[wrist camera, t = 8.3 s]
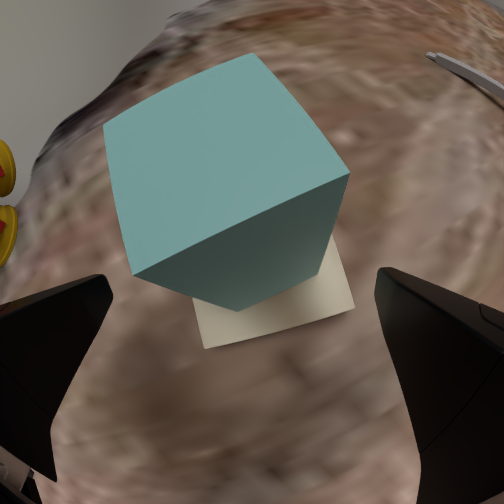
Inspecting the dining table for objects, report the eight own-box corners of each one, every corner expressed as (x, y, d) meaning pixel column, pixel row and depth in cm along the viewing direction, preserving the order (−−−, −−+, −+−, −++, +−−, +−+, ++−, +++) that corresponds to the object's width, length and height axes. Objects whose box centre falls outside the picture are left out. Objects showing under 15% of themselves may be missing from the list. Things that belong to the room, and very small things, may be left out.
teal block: (237, 312, 16) (132, 275, 6) (206, 236, 18) (102, 125, 7) (317, 274, 16) (350, 172, 6) (279, 202, 18) (253, 52, 7)
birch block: (219, 344, 19) (204, 349, 16) (192, 227, 22) (175, 210, 18) (344, 310, 19) (355, 308, 15) (306, 193, 21) (308, 170, 18)
